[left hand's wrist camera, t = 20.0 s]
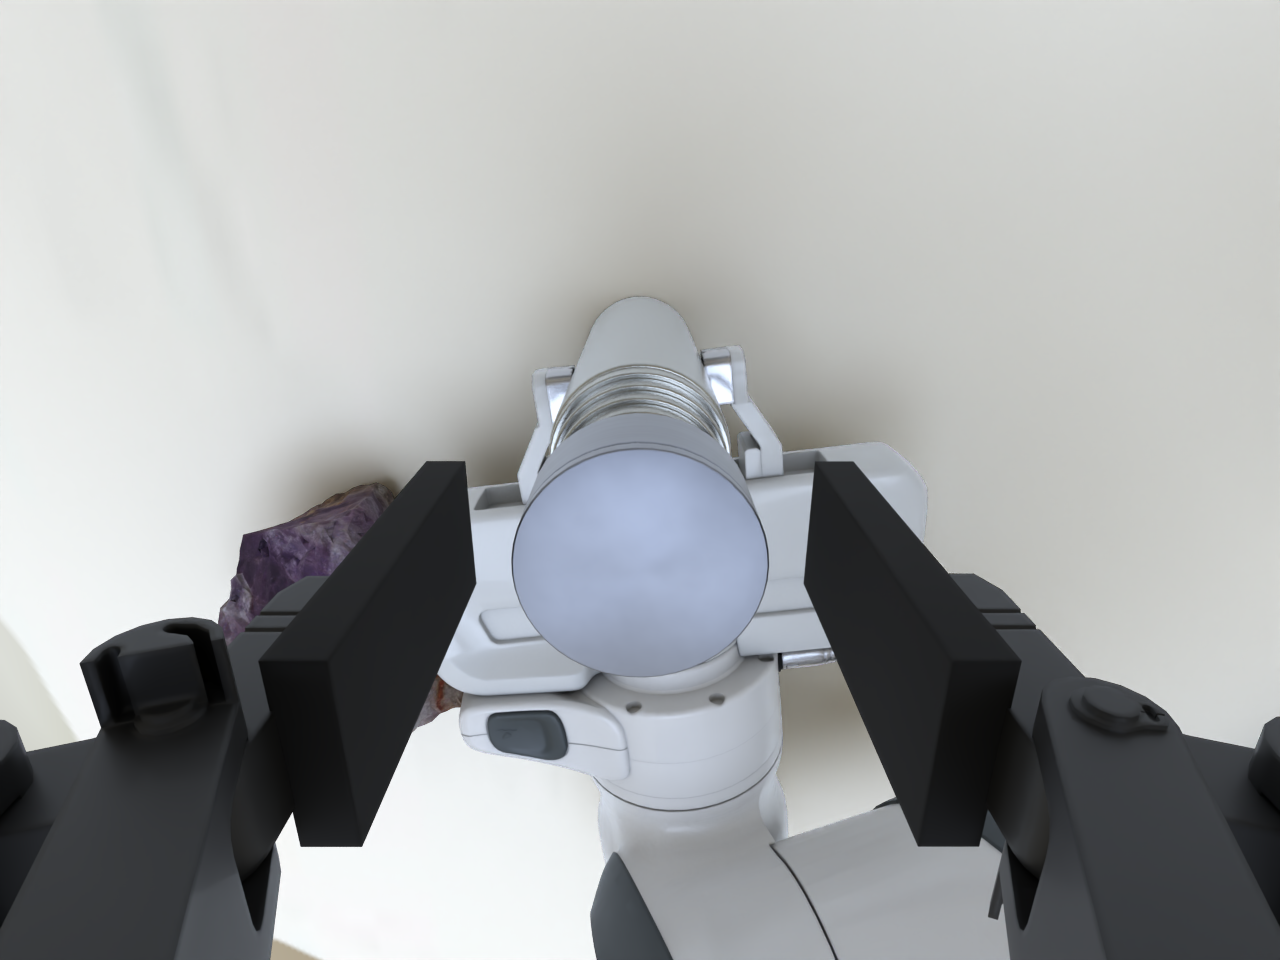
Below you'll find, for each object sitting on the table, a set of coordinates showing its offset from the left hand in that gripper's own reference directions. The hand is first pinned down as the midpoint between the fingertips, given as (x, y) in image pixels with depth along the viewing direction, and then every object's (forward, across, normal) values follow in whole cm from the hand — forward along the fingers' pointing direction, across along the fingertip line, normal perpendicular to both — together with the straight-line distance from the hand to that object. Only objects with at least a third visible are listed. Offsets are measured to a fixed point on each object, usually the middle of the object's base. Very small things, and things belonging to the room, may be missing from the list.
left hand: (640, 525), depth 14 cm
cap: (-2, 0, 0) cm, 2 cm away
